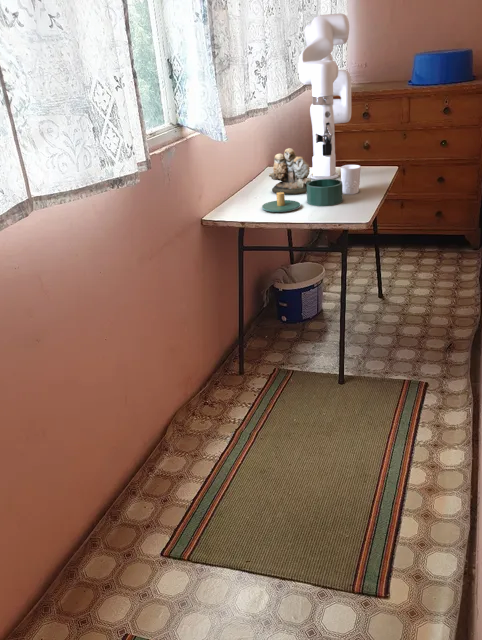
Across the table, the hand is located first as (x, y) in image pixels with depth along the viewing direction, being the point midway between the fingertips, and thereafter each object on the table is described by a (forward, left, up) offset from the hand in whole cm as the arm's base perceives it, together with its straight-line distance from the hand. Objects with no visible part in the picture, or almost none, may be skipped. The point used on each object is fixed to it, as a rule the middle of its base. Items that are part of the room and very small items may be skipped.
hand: (323, 153), depth 227 cm
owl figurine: (-22, -7, -18) cm, 29 cm away
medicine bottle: (0, 0, -8) cm, 8 cm away
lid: (+1, -18, -17) cm, 25 cm away
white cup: (-8, +14, -18) cm, 24 cm away
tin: (0, 0, -18) cm, 18 cm away
